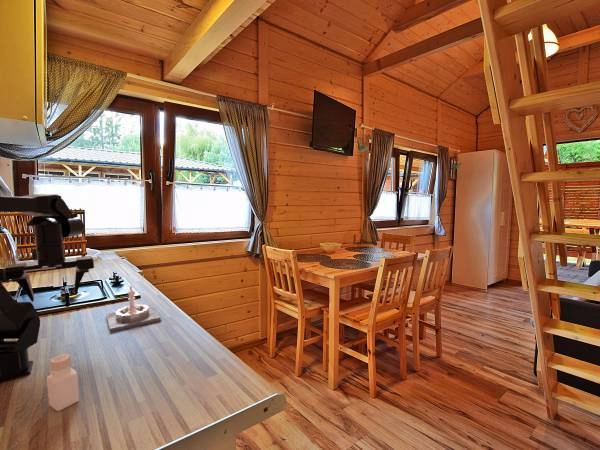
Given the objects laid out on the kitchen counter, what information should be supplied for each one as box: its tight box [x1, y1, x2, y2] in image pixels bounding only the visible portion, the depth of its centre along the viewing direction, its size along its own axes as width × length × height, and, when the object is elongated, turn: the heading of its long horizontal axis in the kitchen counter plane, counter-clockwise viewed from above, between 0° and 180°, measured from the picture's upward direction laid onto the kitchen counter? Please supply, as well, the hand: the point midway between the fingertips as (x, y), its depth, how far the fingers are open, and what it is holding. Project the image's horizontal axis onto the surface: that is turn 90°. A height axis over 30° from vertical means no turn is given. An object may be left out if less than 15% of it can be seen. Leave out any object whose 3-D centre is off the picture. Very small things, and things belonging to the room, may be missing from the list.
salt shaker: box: [46, 353, 80, 412], centre depth 61 cm, size 4×4×10 cm
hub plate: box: [105, 303, 162, 333], centre depth 102 cm, size 14×14×3 cm
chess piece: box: [125, 285, 140, 314], centre depth 101 cm, size 5×5×10 cm
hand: (55, 297), depth 85 cm, fingers open, 9 cm apart
